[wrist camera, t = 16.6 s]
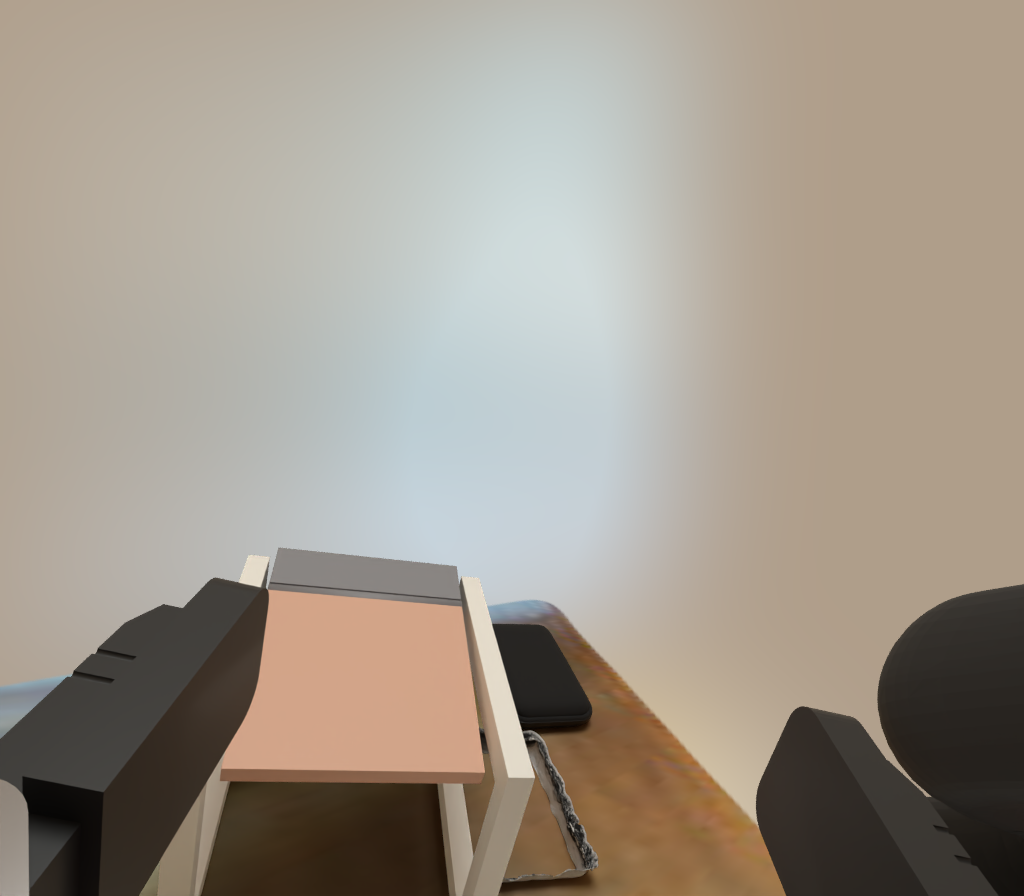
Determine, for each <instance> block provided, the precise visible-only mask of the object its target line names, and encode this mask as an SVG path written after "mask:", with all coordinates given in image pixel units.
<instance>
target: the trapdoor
mask: <svg viewBox="0 0 1024 896" xmlns="http://www.w3.org/2000/svg"><path fill="white" fill-rule="evenodd" d="M268 592H269V605H268V613H267V620H266V628H265V635H264V642H263V650H262V657H261V665H260V672H259V678H258V683H257V687H256V691H255V694H254V697H253V700H252V703H251V705H250V708H249V710H248V712H247V715H246V717H245V719H244V721H243V722H242V724H241V726H240V727H239V729H238V731H237V732H236V734H235V736H234V738H233V739H232V741H231V743H230V744H229V746H228V748H227V749H226V751H225V755H224V759H223V763H222V766H221V773H220V781H256V782H352V783H448V784H481V782H482V779H483V777H484V774H485V769H484V762H483V755H482V748H481V740H480V733H479V726H478V719H477V711H476V704H475V697H474V690H473V682H472V675H471V668H470V661H469V653H468V646H467V639H466V632H465V624H464V617H463V610H462V601H461V596H460V588H459V581H458V575H457V567H456V566H449V565H438V564H430V563H420V562H410V561H400V560H392V559H382V558H371V557H363V556H353V555H344V554H334V553H325V552H315V551H306V550H296V549H287V548H278V552H277V556H276V560H275V564H274V567H273V572H272V575H271V579H270V583H269V586H268Z"/></svg>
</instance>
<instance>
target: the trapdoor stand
mask: <svg viewBox="0 0 1024 896" xmlns="http://www.w3.org/2000/svg"><path fill="white" fill-rule="evenodd" d="M269 560H270V557H263V556H254V555H249V556H248V559H247V562H246V564H245V567H244V570H243V572H242V575H241V578H240V580H239V583H243V584H248V585H252V586H257V587H261V588H266V583H267V575H268V567H269ZM459 588H460V596H461V601H462V610H463V617H464V624H465V632H466V639H467V646H468V653H469V660H470V664H471V669H472V674H473V679H474V684H475V688H476V693H477V698H478V703H479V708H480V712H481V717H482V722H483V727H484V732H485V736H486V741H487V746H488V751H489V756H490V760H491V765H492V770H493V775H494V780H495V785H494V788H493V792H492V795H491V799H490V802H489V805H488V809H487V812H486V816H485V819H484V823H483V826H482V829H481V833H480V836H479V840H478V843H477V847H476V850H475V853H474V857H473V850H472V844H471V837H470V831H469V824H468V817H467V811H466V804H465V797H464V791H463V784H448V783H437V784H438V794H439V803H440V813H441V822H442V831H443V841H444V850H445V859H446V869H447V878H448V887H449V896H498V894H499V890H500V887H501V884H502V881H503V878H504V875H505V871H506V868H507V865H508V862H509V859H510V856H511V852H512V849H513V846H514V843H515V840H516V837H517V833H518V830H519V827H520V824H521V821H522V818H523V814H524V811H525V808H526V805H527V802H528V799H529V795H530V792H531V789H532V786H533V783H534V780H535V776H534V772H533V769H532V765H531V762H530V758H529V755H528V751H527V747H526V744H525V740H524V737H523V733H522V730H521V726H520V722H519V719H518V715H517V712H516V708H515V705H514V701H513V698H512V694H511V690H510V687H509V683H508V680H507V676H506V673H505V669H504V665H503V662H502V658H501V655H500V651H499V648H498V644H497V640H496V637H495V633H494V630H493V626H492V623H491V619H490V616H489V612H488V608H487V605H486V601H485V598H484V594H483V591H482V587H481V583H480V580H479V578H472V577H461V580H460V585H459ZM224 755H225V753H224V754H223V756H222V758H221V759H220V761H219V763H218V764H217V766H216V768H215V769H214V771H213V773H212V774H211V776H210V778H209V779H208V781H207V783H206V784H205V786H204V788H203V789H202V791H201V793H200V794H199V796H198V798H197V799H196V801H195V803H194V804H193V806H192V808H191V809H190V811H189V813H188V814H187V816H186V818H185V819H184V821H183V823H182V824H181V826H180V828H179V829H178V831H177V833H176V834H175V836H174V838H173V839H172V841H171V843H170V844H169V846H168V848H167V849H166V851H165V853H164V854H163V856H162V858H161V859H160V867H159V879H158V890H157V896H201V894H202V890H203V886H204V882H205V878H206V874H207V870H208V866H209V862H210V859H211V855H212V851H213V847H214V843H215V839H216V835H217V831H218V827H219V824H220V820H221V816H222V812H223V808H224V804H225V800H226V796H227V792H228V789H229V785H230V781H220V773H221V766H222V763H223V759H224Z"/></svg>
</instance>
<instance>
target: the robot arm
mask: <svg viewBox="0 0 1024 896" xmlns="http://www.w3.org/2000/svg"><path fill="white" fill-rule="evenodd" d="M268 605H269V592H268V590H267V589H266V588H261V587H257V586H252V585H248V584H243V583H238V582H234V581H229V580H224V579H220V578H213V579H211V580H210V581H209V582H208V583H207V584H206V585H205V586H204V587H203V588H202V589H201V590H200V591H199V592H198V593H197V594H196V595H195V596H194V597H193V598H192V599H191V600H190V601H189V602H188V603H187V604H186V605H185V607H184V608H179V607H174V606H169V605H165V604H163V605H161V606H159V607H157V608H155V609H153V610H151V611H149V612H147V613H145V614H142V615H140V616H138V617H136V618H134V619H132V620H130V621H128V622H126V623H125V624H123V625H122V626H121V627H120V628H119V629H118V630H117V631H116V632H115V633H114V634H113V635H112V636H110V638H108V639H107V640H106V641H105V642H104V643H103V644H102V645H101V646H100V647H99V648H98V650H97V652H96V654H91V655H90V656H89V657H88V658H87V659H86V660H85V661H84V662H83V663H81V664H80V665H79V666H78V667H77V668H76V669H75V670H74V672H73V675H72V676H71V677H66V678H65V679H64V680H63V681H62V682H61V683H60V684H59V685H58V686H57V687H56V688H55V689H54V690H52V691H51V692H50V693H49V694H48V695H47V696H46V697H45V698H44V699H43V700H42V701H41V702H40V703H39V704H37V705H36V706H35V707H34V708H33V709H32V710H31V711H30V712H29V713H28V714H27V715H26V716H25V717H23V718H22V719H21V720H20V721H19V722H18V723H17V724H16V725H15V726H14V727H13V728H12V729H11V730H10V731H8V732H7V733H6V734H5V735H4V736H3V737H2V738H1V739H0V896H139V894H140V893H141V891H142V889H143V888H144V886H145V884H146V883H147V881H148V879H149V878H150V876H151V874H152V873H153V871H154V869H155V868H156V866H157V864H158V863H159V861H160V859H161V858H162V856H163V854H164V853H165V851H166V849H167V848H168V846H169V844H170V843H171V841H172V839H173V838H174V836H175V834H176V833H177V831H178V829H179V828H180V826H181V824H182V823H183V821H184V819H185V818H186V816H187V814H188V813H189V811H190V809H191V808H192V806H193V804H194V803H195V801H196V799H197V798H198V796H199V794H200V793H201V791H202V789H203V788H204V786H205V784H206V783H207V781H208V779H209V778H210V776H211V774H212V773H213V771H214V769H215V768H216V766H217V764H218V763H219V761H220V759H221V758H222V756H223V754H224V753H225V751H226V749H227V748H228V746H229V744H230V743H231V741H232V739H233V738H234V736H235V734H236V732H237V731H238V729H239V727H240V726H241V724H242V722H243V721H244V719H245V717H246V715H247V712H248V710H249V708H250V705H251V703H252V700H253V697H254V694H255V691H256V687H257V683H258V678H259V672H260V665H261V657H262V650H263V642H264V635H265V628H266V620H267V613H268ZM878 711H879V716H880V722H881V726H882V729H883V732H884V734H885V737H886V740H887V743H888V745H889V747H890V749H891V750H892V752H893V754H894V756H895V757H896V759H897V761H898V762H899V764H900V765H901V766H902V768H903V769H904V770H905V771H906V772H907V774H908V775H909V776H910V777H911V778H912V780H913V781H915V782H916V783H917V784H918V785H919V786H920V787H921V788H922V789H924V790H925V791H926V792H927V793H928V794H929V795H931V796H932V797H926V796H925V795H924V794H923V792H922V791H920V790H919V789H918V788H917V787H916V786H915V785H914V784H913V783H912V782H911V781H910V780H909V779H907V778H906V777H905V776H904V775H903V774H902V773H901V772H900V771H899V770H898V769H896V768H895V767H894V766H893V765H892V764H891V763H890V762H889V761H887V760H886V758H885V757H884V756H883V754H882V753H881V752H880V750H879V749H878V747H877V746H876V745H875V743H874V742H873V740H872V739H871V737H870V736H869V735H868V733H867V732H866V730H865V729H864V727H863V726H862V725H861V724H860V722H859V721H857V720H856V719H855V718H853V717H850V716H846V715H841V714H836V713H832V712H827V711H822V710H818V709H813V708H809V707H799V708H797V709H795V710H794V711H793V713H792V714H791V715H790V717H789V719H788V721H787V723H786V726H785V728H784V730H783V732H782V734H781V737H780V739H779V741H778V743H777V745H776V748H775V750H774V752H773V754H772V756H771V758H770V761H769V763H768V765H767V767H766V769H765V772H764V774H763V776H762V778H761V781H760V783H759V786H758V790H757V797H756V814H757V821H758V825H759V829H760V832H761V834H762V837H763V839H764V842H765V844H766V847H767V849H768V851H769V854H770V856H771V859H772V861H773V864H774V866H775V869H776V871H777V874H778V876H779V879H780V881H781V884H782V886H783V888H784V891H785V893H786V896H1024V584H1023V585H1017V586H1011V587H1004V588H998V589H992V590H986V591H981V592H975V593H970V594H966V595H962V596H959V597H956V598H953V599H950V600H948V601H945V602H943V603H941V604H939V605H937V606H936V607H934V608H932V609H931V610H929V611H927V612H926V613H925V614H923V615H922V616H920V617H919V618H918V619H917V620H916V621H915V622H913V623H912V624H911V625H910V627H908V628H907V629H906V631H905V632H904V633H903V634H902V635H901V637H900V638H899V639H898V641H897V642H896V643H895V645H894V646H893V648H892V650H891V651H890V653H889V655H888V657H887V659H886V661H885V664H884V666H883V669H882V672H881V676H880V680H879V686H878Z"/></svg>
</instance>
